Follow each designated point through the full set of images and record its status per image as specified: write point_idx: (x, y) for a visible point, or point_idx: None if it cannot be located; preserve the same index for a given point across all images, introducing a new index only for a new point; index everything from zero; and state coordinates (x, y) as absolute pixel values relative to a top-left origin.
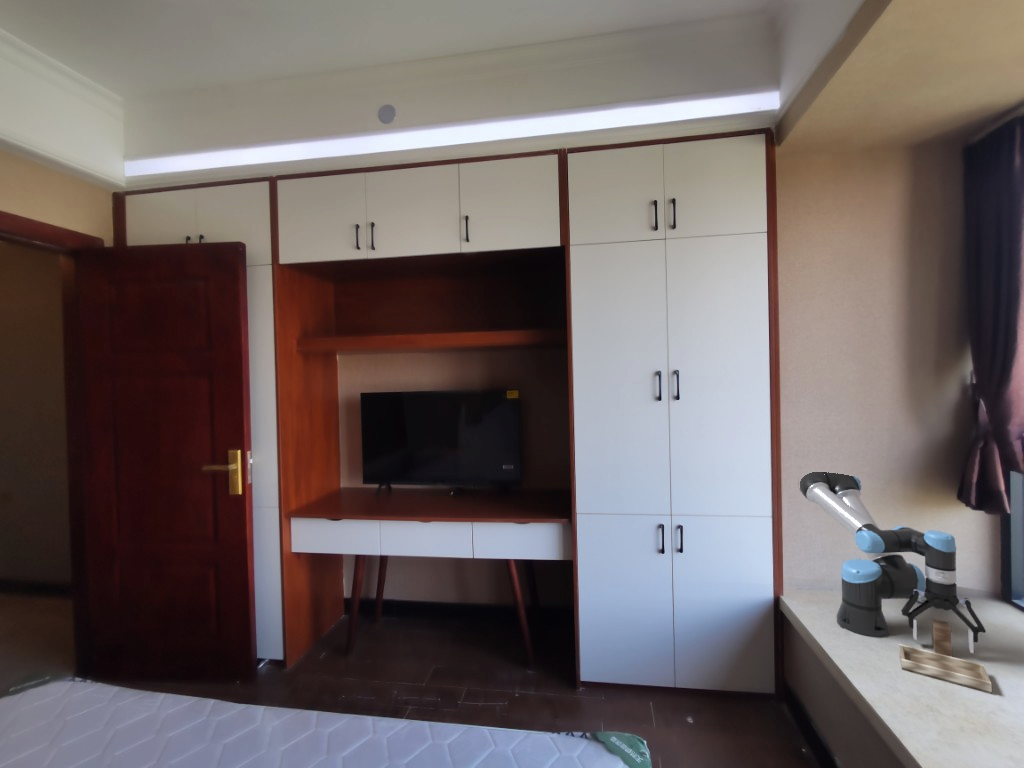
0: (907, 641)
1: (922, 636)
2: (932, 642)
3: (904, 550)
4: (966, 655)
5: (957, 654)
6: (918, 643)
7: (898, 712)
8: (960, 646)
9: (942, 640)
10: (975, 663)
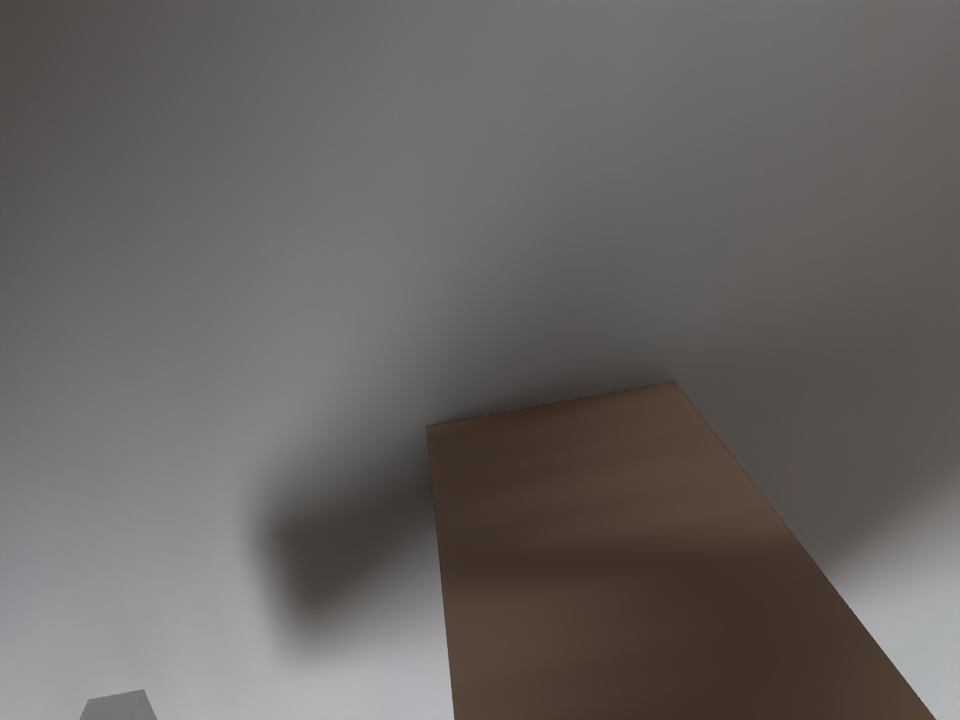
0: (47, 587)
1: (199, 110)
2: (432, 478)
3: None
4: (915, 410)
5: (785, 478)
6: (215, 528)
7: None
8: (903, 57)
9: None
10: None
